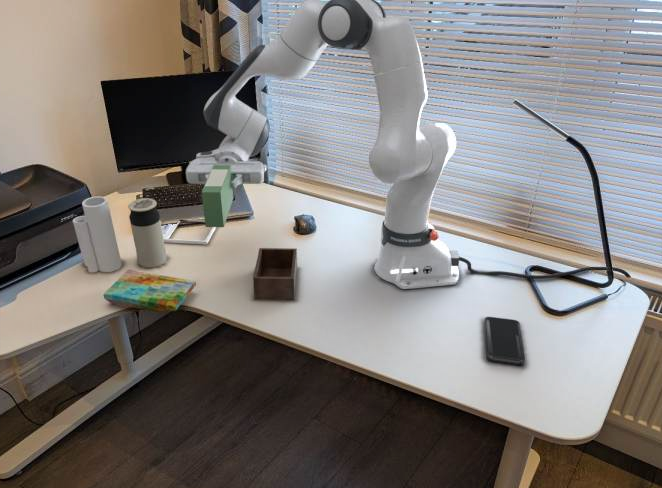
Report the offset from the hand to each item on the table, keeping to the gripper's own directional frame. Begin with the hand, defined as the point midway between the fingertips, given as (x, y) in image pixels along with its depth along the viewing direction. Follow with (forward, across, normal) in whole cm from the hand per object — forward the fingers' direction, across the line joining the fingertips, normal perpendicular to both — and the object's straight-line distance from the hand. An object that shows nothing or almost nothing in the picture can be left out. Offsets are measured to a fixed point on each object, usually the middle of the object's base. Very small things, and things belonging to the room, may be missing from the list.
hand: (221, 185), depth 139 cm
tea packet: (+5, 0, 0) cm, 5 cm away
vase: (-2, +37, -26) cm, 45 cm away
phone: (+28, -67, -26) cm, 77 cm away
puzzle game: (+14, +18, -26) cm, 34 cm away
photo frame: (-23, +18, -26) cm, 39 cm away
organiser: (+5, -13, -26) cm, 30 cm away
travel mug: (-5, +23, -26) cm, 35 cm away
